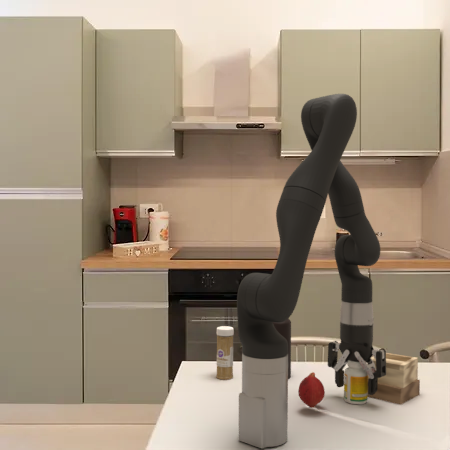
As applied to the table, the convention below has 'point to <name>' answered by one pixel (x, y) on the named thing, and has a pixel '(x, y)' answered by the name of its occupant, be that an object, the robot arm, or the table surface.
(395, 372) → the tower top
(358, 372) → the supplement bottle
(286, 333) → the vinegar
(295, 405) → the table surface
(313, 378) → the onion
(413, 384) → the tower base
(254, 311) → the robot arm
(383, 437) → the table surface
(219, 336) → the sprinkles bottle
